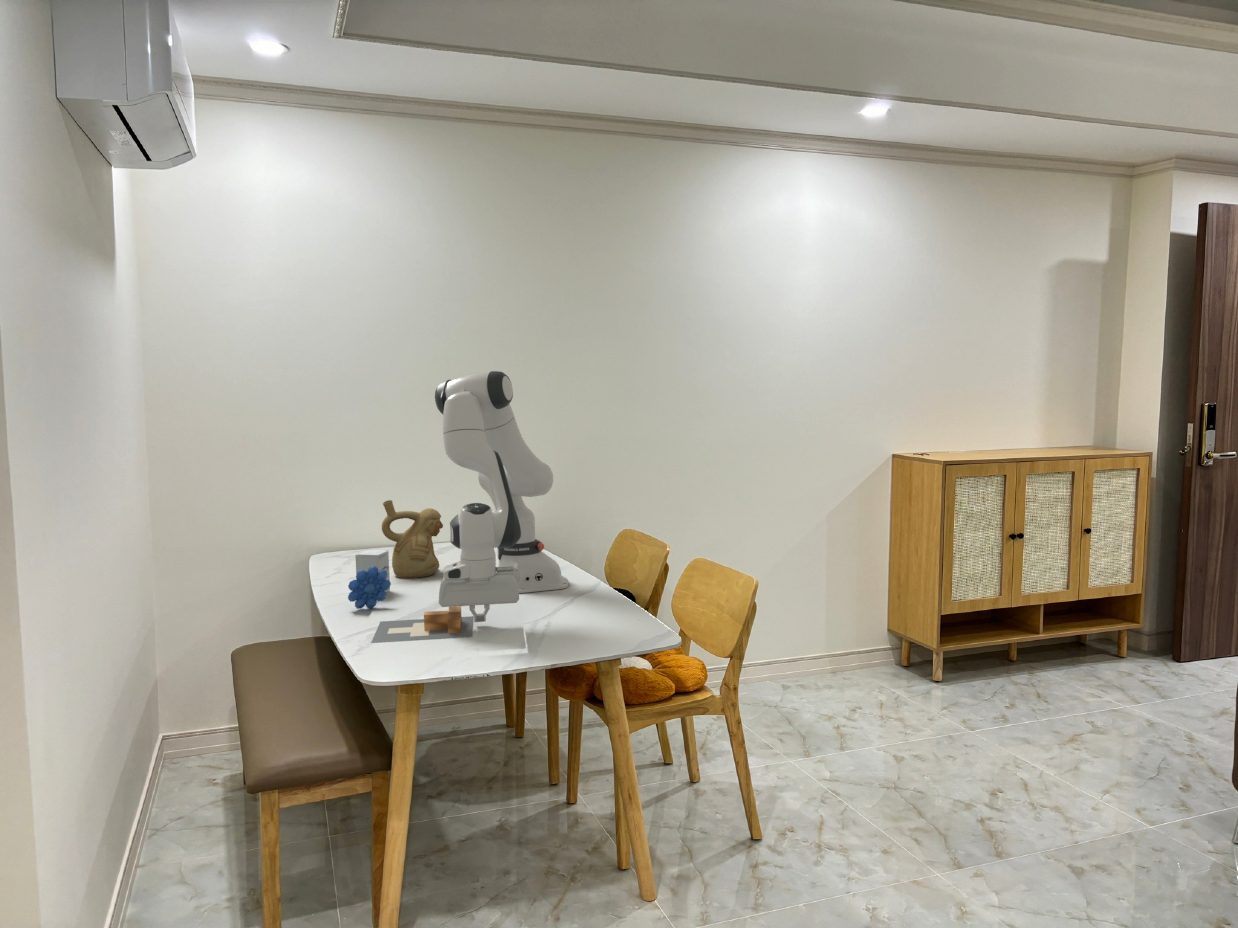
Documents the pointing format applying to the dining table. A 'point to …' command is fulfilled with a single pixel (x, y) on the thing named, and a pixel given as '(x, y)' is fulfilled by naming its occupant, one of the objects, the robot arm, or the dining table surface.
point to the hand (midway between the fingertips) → (480, 621)
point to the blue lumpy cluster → (368, 587)
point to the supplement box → (373, 561)
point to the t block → (444, 620)
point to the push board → (417, 631)
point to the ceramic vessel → (413, 542)
